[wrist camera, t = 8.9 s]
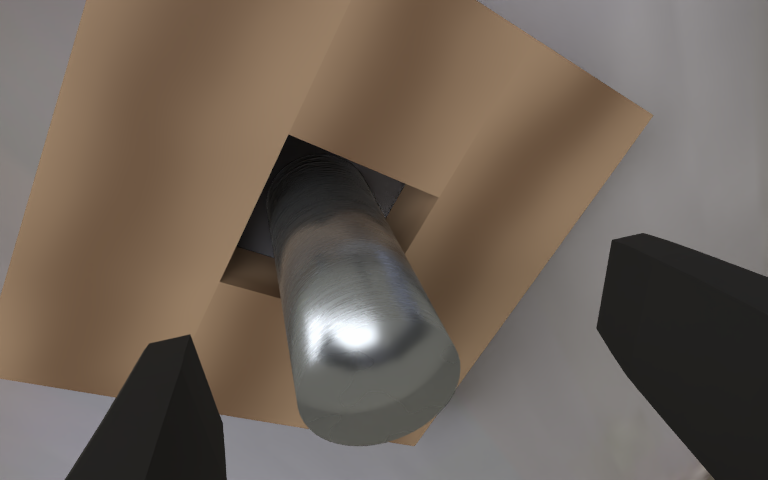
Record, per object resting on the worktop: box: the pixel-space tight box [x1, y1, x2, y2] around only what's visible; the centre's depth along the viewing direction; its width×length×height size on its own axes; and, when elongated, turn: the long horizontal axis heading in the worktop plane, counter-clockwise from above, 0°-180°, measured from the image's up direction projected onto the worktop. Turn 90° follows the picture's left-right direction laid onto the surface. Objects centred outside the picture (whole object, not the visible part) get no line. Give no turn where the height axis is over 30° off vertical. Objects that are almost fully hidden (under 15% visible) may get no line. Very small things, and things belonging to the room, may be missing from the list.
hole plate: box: [0, 0, 653, 446], centre depth 18 cm, size 16×16×2 cm
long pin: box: [266, 154, 461, 446], centre depth 15 cm, size 4×4×9 cm
